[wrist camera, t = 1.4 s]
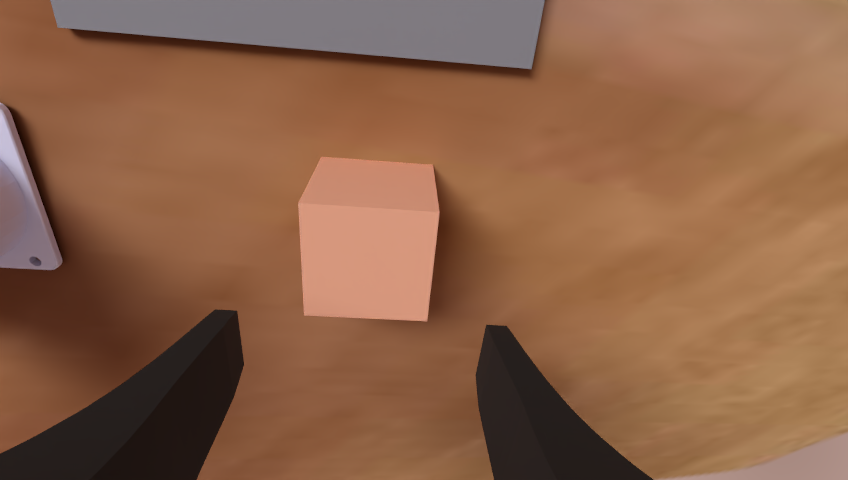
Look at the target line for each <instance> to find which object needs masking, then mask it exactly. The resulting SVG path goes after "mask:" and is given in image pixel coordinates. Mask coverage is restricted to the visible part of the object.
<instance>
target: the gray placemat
mask: <svg viewBox="0 0 848 480" xmlns="http://www.w3.org/2000/svg"><path fill="white" fill-rule="evenodd" d="M50 1H51V4H52V8H53V11H54V15H55V19H56V22H57V26H58V28H69V29H81V30H92V31H103V32H115V33H126V34H138V35H149V36H160V37H172V38H183V39H194V40H206V41H217V42H229V43H240V44H251V45H263V46H274V47H285V48H297V49H308V50H320V51H331V52H342V53H354V54H365V55H377V56H388V57H399V58H411V59H422V60H433V61H445V62H456V63H468V64H479V65H490V66H502V67H513V68H524V69H532V64H533V59H534V54H535V49H536V43H537V38H538V33H539V28H540V22H541V17H542V12H543V7H544V2H545V0H50Z"/></svg>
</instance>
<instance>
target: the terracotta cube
mask: <svg viewBox="0 0 848 480" xmlns="http://www.w3.org/2000/svg"><path fill="white" fill-rule="evenodd" d="M298 205H299V225H300V244H301V263H302V283H303V302H304V315H308V316H328V317H349V318H370V319H391V320H412V321H427V318H428V309H429V300H430V292H431V283H432V274H433V266H434V257H435V248H436V239H437V231H438V222H439V213H440V211H439V204H438V197H437V190H436V183H435V176H434V169H433V165H428V164H414V163H400V162H386V161H372V160H358V159H344V158H331V157H321V158H320V160H319V162H318V164H317V167H316V169H315V171H314V173H313V175H312V177H311V179H310V181H309V183H308V185H307V187H306V189H305V191H304V193H303V195H302V197H301V199H300V201H299V203H298Z"/></svg>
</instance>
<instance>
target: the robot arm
mask: <svg viewBox="0 0 848 480" xmlns="http://www.w3.org/2000/svg"><path fill="white" fill-rule="evenodd" d="M36 257H37V258H38V259H40V261H39V260H38V259H36ZM61 264H62V257H61V254H60V251H59V248H58V246H57V243H56V240H55V237H54V234H53V231H52V229H51V226H50V223H49V220H48V217H47V214H46V212H45V209H44V206H43V203H42V200H41V197H40V195H39V192H38V189H37V186H36V183H35V180H34V178H33V175H32V172H31V169H30V166H29V163H28V161H27V158H26V155H25V152H24V149H23V146H22V144H21V141H20V138H19V135H18V132H17V129H16V127H15V124H14V121H13V118H12V115H11V113H10V111H9V109H8V108H7V107H6V106H5V105H4V104H2V103H0V268H18V269H37V270H55V269H56V268H58V267H59V266H60V265H61ZM243 366H244V361H243V353H242V345H241V337H240V330H239V322H238V314H237V311H232V310H214V311H213V312H212V313H210V314H209V315H208V316H207V317H205V318H204V319H203V320H202V321H201V322H200V323H198V324H197V325H196V326H195V327H194V328H192V329H191V330H190V331H189V332H188V333H187V334H185V335H184V336H183V337H182V338H181V339H179V340H178V341H177V342H176V343H175V344H173V345H172V346H171V347H170V348H168V349H167V350H166V351H165V352H164V353H162V354H161V355H160V356H159V357H157V358H156V359H155V360H154V361H152V362H151V363H150V364H148V365H147V366H146V367H144V368H143V369H142V370H140V371H139V372H138V373H136V374H135V375H134V376H132V377H131V378H130V379H128V380H127V381H126V382H124V383H123V384H121V385H120V386H118V387H117V388H115V389H114V390H112V391H111V392H109V393H108V394H106V395H105V396H103V397H102V398H100V399H99V400H97V401H95V402H94V403H92V404H91V405H89V406H88V407H86V408H84V409H83V410H81V411H79V412H78V413H76V414H74V415H72V416H71V417H69V418H67V419H65V420H63V421H62V422H60V423H58V424H56V425H55V426H53V427H51V428H49V429H47V430H46V431H44V432H42V433H40V434H39V435H37V436H35V437H33V438H31V439H29V440H27V441H25V442H23V443H21V444H19V445H17V446H15V447H13V448H11V449H9V450H7V451H5V452H3V453H1V454H0V480H197V477H198V475H199V472H200V470H201V468H202V466H203V464H204V461H205V459H206V457H207V455H208V453H209V450H210V448H211V446H212V444H213V442H214V440H215V437H216V435H217V433H218V431H219V429H220V427H221V424H222V422H223V420H224V418H225V416H226V413H227V411H228V409H229V407H230V404H231V402H232V400H233V398H234V395H235V392H236V388H237V385H238V382H239V379H240V376H241V372H242V369H243ZM476 384H477V395H478V405H479V411H480V416H481V421H482V426H483V430H484V435H485V439H486V444H487V449H488V453H489V458H490V462H491V467H492V472H493V476H494V480H653V479H652V478H651V477H649V476H648V475H646V474H645V473H644V472H642V471H641V470H640V469H638V468H637V467H636V466H635V465H633V464H632V463H631V462H629V461H628V460H627V459H626V458H624V457H623V456H622V455H621V454H620V453H619V452H617V451H616V450H615V449H614V448H613V447H611V446H610V445H609V444H608V443H607V442H606V441H604V440H603V439H602V438H601V437H600V436H599V435H598V434H597V433H596V432H594V431H593V430H592V429H591V428H590V427H589V426H588V425H587V424H586V423H585V422H584V421H583V420H582V419H581V418H580V417H579V416H578V415H577V414H576V413H575V412H574V411H573V410H572V409H571V408H570V407H569V405H568V404H567V403H566V402H565V401H564V400H563V399H562V398H561V396H560V395H559V394H558V393H557V392H556V391H555V389H554V388H553V387H552V386H551V385H550V383H549V382H548V381H547V380H546V378H545V377H544V376H543V375H542V373H541V372H540V371H539V370H538V368H537V367H536V366H535V364H534V363H533V362H532V360H531V359H530V358H529V356H528V355H527V354H526V352H525V351H524V349H523V348H522V347H521V345H520V344H519V342H518V341H517V340H516V338H515V337H514V335H513V334H512V332H511V331H510V330H509V328H508V327H507V326H497V325H486V329H485V334H484V338H483V343H482V348H481V353H480V357H479V362H478V367H477V372H476Z"/></svg>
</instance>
